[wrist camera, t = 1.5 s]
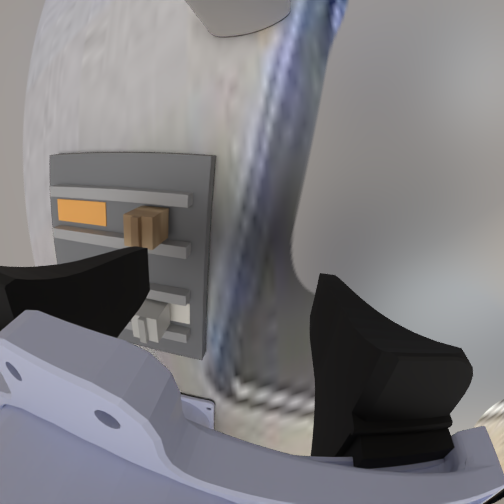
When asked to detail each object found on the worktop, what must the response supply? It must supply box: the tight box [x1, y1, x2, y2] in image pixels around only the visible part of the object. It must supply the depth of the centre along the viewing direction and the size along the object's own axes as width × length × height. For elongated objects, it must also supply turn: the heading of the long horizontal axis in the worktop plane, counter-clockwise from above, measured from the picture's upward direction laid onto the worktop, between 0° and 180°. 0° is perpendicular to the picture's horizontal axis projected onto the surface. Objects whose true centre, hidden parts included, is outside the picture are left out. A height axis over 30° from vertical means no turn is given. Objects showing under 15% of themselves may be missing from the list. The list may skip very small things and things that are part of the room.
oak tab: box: [123, 206, 169, 250], centre depth 17 cm, size 2×2×3 cm
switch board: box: [50, 152, 216, 360], centre depth 21 cm, size 16×14×2 cm
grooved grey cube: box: [131, 298, 170, 344], centre depth 20 cm, size 2×2×3 cm
